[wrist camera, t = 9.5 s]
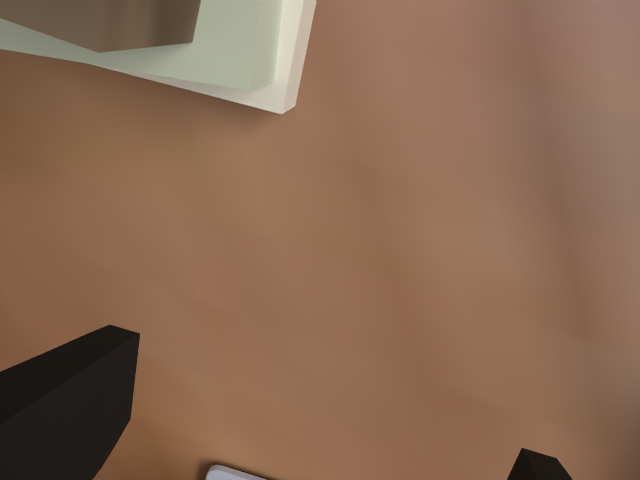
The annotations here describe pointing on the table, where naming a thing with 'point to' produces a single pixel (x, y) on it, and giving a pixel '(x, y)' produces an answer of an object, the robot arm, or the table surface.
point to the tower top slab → (184, 46)
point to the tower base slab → (288, 67)
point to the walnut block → (107, 21)
